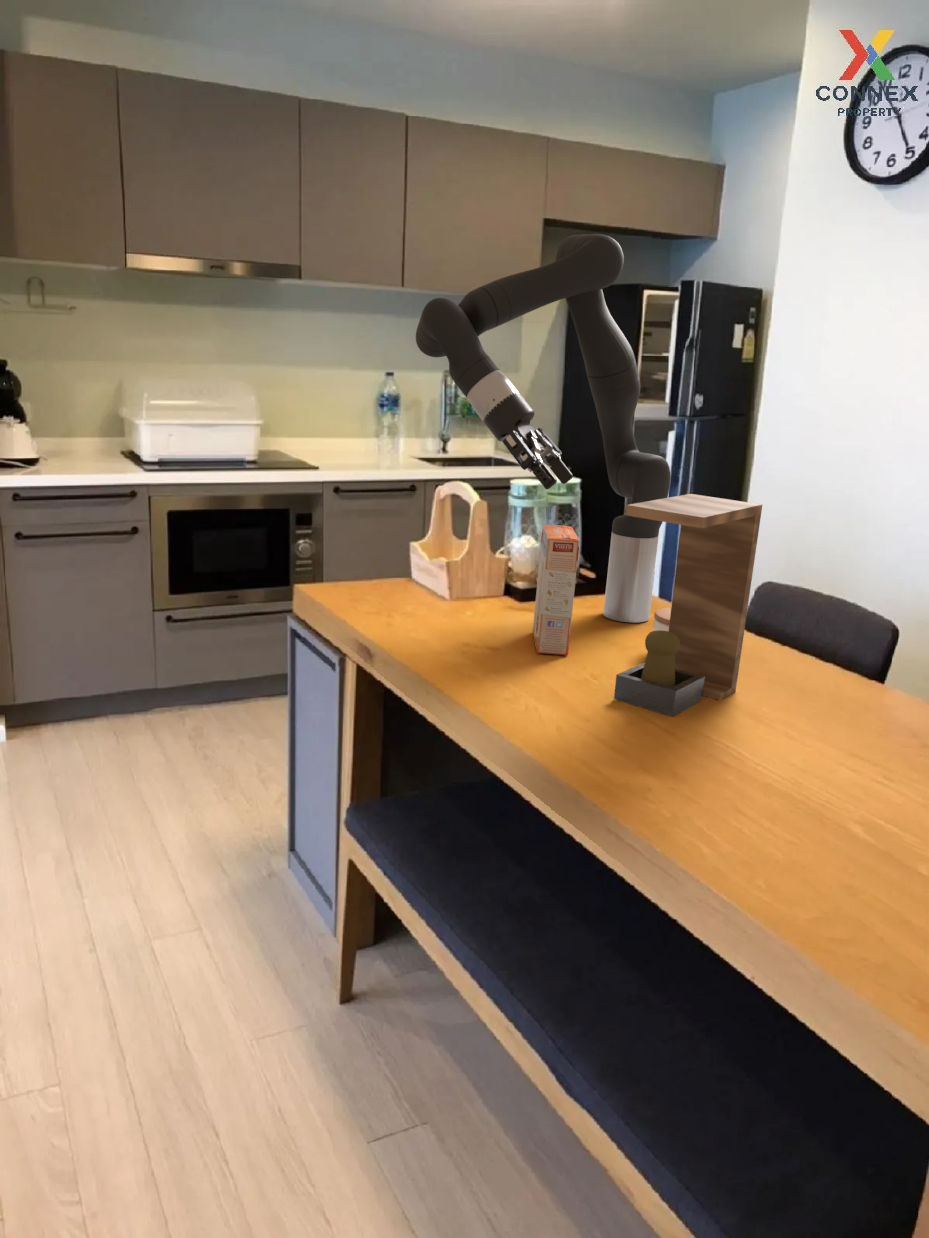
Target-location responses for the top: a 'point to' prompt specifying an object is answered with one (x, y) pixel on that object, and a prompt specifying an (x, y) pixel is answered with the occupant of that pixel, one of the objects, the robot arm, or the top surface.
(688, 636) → the shelf
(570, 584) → the cracker box
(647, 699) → the socket
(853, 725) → the top surface
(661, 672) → the cork
